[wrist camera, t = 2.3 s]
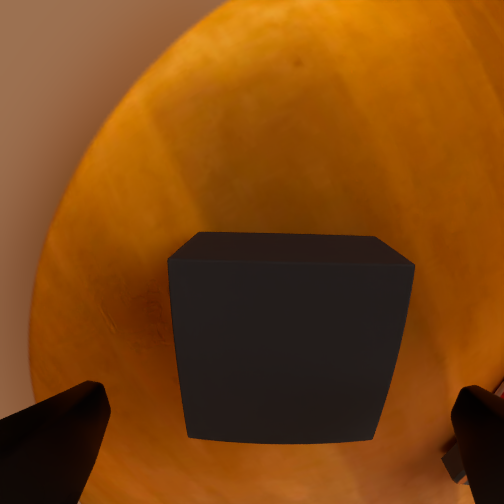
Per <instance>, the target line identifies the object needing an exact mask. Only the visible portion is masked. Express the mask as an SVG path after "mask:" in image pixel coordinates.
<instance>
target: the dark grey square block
mask: <svg viewBox="0 0 504 504" xmlns="http://www.w3.org/2000/svg"><path fill="white" fill-rule="evenodd" d="M167 263H168V278H169V291H170V303H171V314H172V324H173V334H174V343H175V352H176V360H177V368H178V376H179V383H180V390H181V397H182V404H183V410H184V417H185V423H186V429H187V435H188V437H189V438H196V439H204V440H214V441H225V442H238V443H257V444H323V443H341V442H354V441H365V440H372V439H373V436H374V434H375V431H376V428H377V425H378V422H379V419H380V416H381V413H382V410H383V407H384V403H385V400H386V397H387V394H388V390H389V387H390V383H391V380H392V376H393V372H394V369H395V365H396V361H397V357H398V353H399V349H400V345H401V340H402V336H403V331H404V327H405V322H406V317H407V312H408V307H409V301H410V296H411V290H412V284H413V277H414V271H415V264H413V263H412V262H411V261H409V260H408V259H406V258H405V257H404V256H402V255H401V254H399V253H398V252H397V251H395V250H394V249H392V248H391V247H390V246H388V245H387V244H385V243H384V242H382V241H381V240H380V239H378V238H377V237H375V236H348V235H317V234H280V233H234V232H198V233H197V234H196V235H195V236H193V237H192V238H191V239H190V240H189V241H188V242H186V243H185V244H184V245H183V246H182V247H181V248H180V249H178V250H177V251H176V252H175V253H174V254H173V255H172V256H170V257H169V258H168V260H167Z"/></svg>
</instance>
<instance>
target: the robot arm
mask: <svg viewBox="0 0 504 504" xmlns="http://www.w3.org/2000/svg"><path fill="white" fill-rule="evenodd" d="M110 414H111V408H110V404H109V401H108V397H107V394H106V391H105V388H104V386H103V384H101V383H99V382H95V381H89V380H88V381H85V382H83V383H81V384H79V385H76V386H74V387H72V388H70V389H68V390H66V391H64V392H61V393H59V394H57V395H55V396H53V397H50V398H48V399H46V400H44V401H42V402H39V403H37V404H35V405H33V406H30V407H28V408H26V409H24V410H21V411H19V412H17V413H14V414H12V415H10V416H8V417H5V418H3V419H1V420H0V504H77V503H78V501H79V499H80V496H81V494H82V492H83V489H84V487H85V485H86V482H87V480H88V478H89V476H90V473H91V471H92V469H93V466H94V464H95V461H96V459H97V456H98V453H99V449H100V446H101V443H102V440H103V437H104V433H105V430H106V427H107V424H108V421H109V418H110ZM451 421H452V425H453V428H454V432H455V436H456V440H457V444H458V448H459V452H460V456H461V460H462V464H463V467H464V470H465V473H466V476H467V479H468V482H469V485H470V488H471V492H472V495H473V498H474V501H475V504H504V399H503V398H501V397H499V396H497V395H495V394H493V393H491V392H489V391H487V390H485V389H483V388H481V387H479V386H477V385H472V386H467V387H463V388H462V389H461V390H460V392H459V395H458V397H457V399H456V402H455V404H454V406H453V409H452V411H451Z"/></svg>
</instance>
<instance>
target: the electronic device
mask: <svg viewBox="0 0 504 504" xmlns="http://www.w3.org/2000/svg"><path fill="white" fill-rule="evenodd" d="M494 394H495V395H497V396H499V397H501V398H503V399H504V381H503V383H502V384H501V385H500V387H499V388H498V389H497V391H496V392H495V393H494ZM441 459H442V461H443V463H444V465H445V467H446V469H447V470H448V472H449V474H450V476H451V478H452V480H453V481H454V482H456V483H457V484H465V485H469V482H468V479H467V476H466V473H465V470H464V467H463V464H462V460H461V456H460V452H459V448H458V444H457V443H456V444H455V445H454V446H453V447H452V448H451V449H450V450H449V451H448V452H447V453H446V454H445V455H444V456H443V457H442V458H441Z"/></svg>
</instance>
